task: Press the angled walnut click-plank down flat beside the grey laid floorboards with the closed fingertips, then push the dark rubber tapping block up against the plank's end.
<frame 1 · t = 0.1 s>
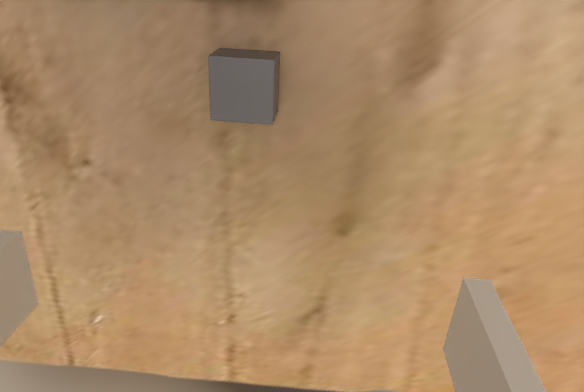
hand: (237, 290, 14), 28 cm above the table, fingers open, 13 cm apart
tapping block: (249, 80, 39), on the table
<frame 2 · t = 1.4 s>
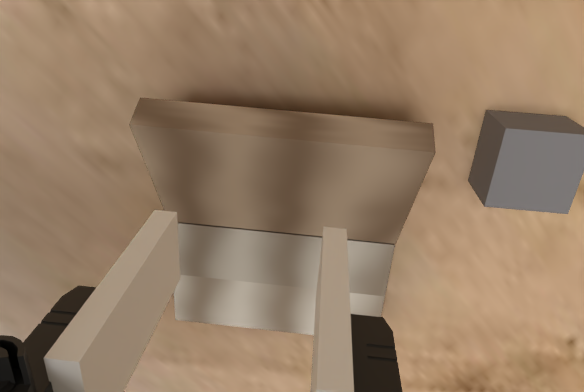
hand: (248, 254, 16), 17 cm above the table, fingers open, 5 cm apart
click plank: (282, 179, 29), point 4 cm above the table, hinge at 30.0°
laid floor rows: (280, 269, 36), on the table
tapping block: (514, 149, 31), on the table
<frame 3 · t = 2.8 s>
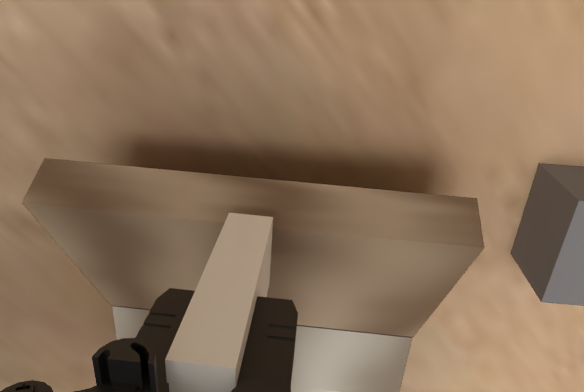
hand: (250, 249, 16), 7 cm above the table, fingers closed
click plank: (258, 261, 20), point 4 cm above the table, hinge at 29.9°, touching gripper
laid floor rows: (262, 356, 28), on the table
tapping block: (575, 213, 22), on the table
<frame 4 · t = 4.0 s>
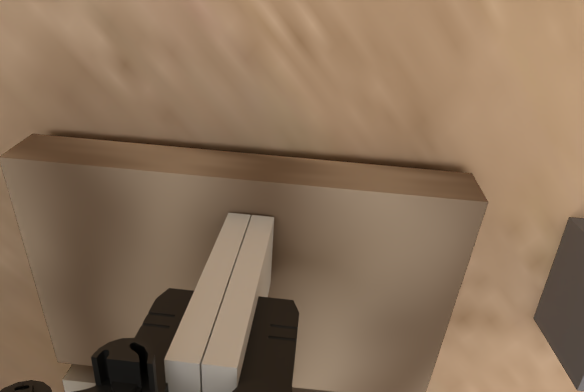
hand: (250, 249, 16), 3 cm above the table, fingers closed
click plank: (242, 277, 18), point 1 cm above the table, hinge at 4.7°, touching gripper
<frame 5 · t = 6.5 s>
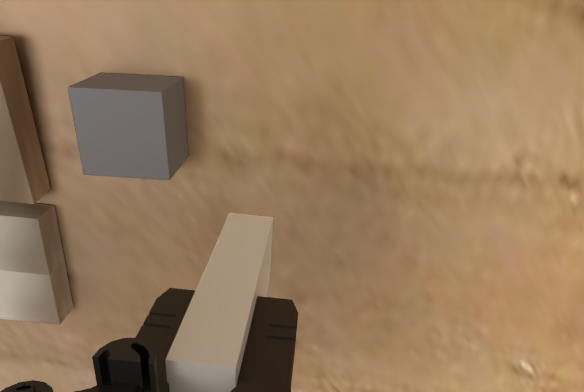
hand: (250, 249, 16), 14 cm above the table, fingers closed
tapping block: (147, 114, 29), on the table
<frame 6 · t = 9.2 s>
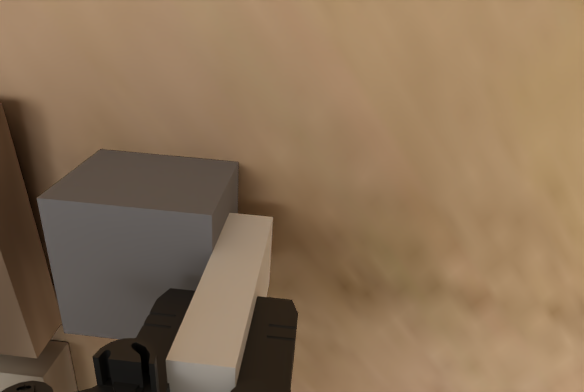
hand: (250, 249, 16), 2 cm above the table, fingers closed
tapping block: (173, 216, 17), on the table
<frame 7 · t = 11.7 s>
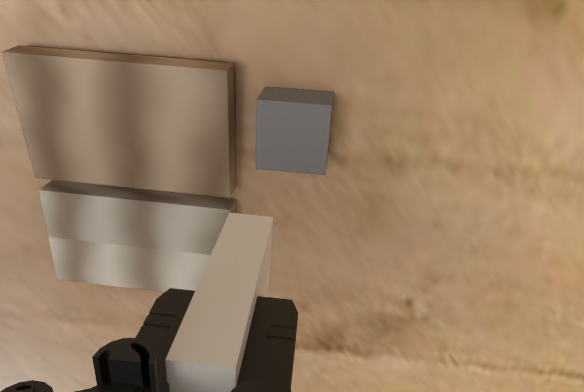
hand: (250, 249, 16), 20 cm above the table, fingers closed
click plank: (128, 124, 35), point 1 cm above the table, hinge at 4.7°
laid floor rows: (147, 234, 41), on the table
tapping block: (297, 121, 35), on the table
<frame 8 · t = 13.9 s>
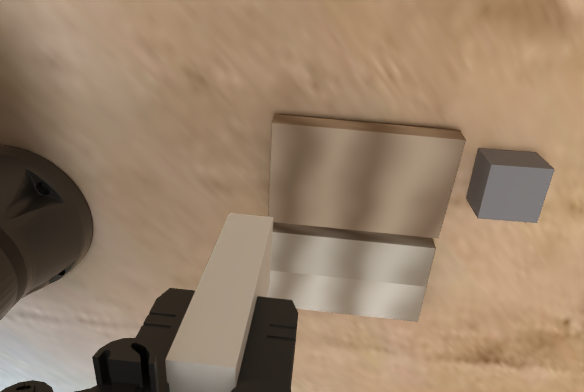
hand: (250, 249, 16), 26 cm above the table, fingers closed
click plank: (359, 178, 41), point 1 cm above the table, hinge at 4.7°
laid floor rows: (345, 266, 48), on the table
tapping block: (499, 175, 42), on the table
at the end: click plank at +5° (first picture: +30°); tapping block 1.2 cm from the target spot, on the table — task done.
